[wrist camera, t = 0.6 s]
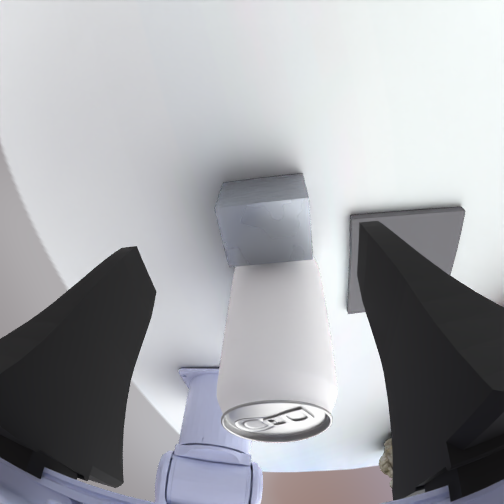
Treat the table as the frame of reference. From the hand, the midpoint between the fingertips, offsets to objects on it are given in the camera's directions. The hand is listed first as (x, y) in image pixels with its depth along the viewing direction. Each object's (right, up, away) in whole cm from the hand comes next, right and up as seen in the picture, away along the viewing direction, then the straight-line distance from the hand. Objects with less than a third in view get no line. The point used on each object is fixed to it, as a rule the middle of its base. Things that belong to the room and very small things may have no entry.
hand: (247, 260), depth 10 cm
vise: (+2, -1, +14) cm, 14 cm away
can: (+2, -1, +14) cm, 14 cm away
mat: (+12, 0, +12) cm, 17 cm away
